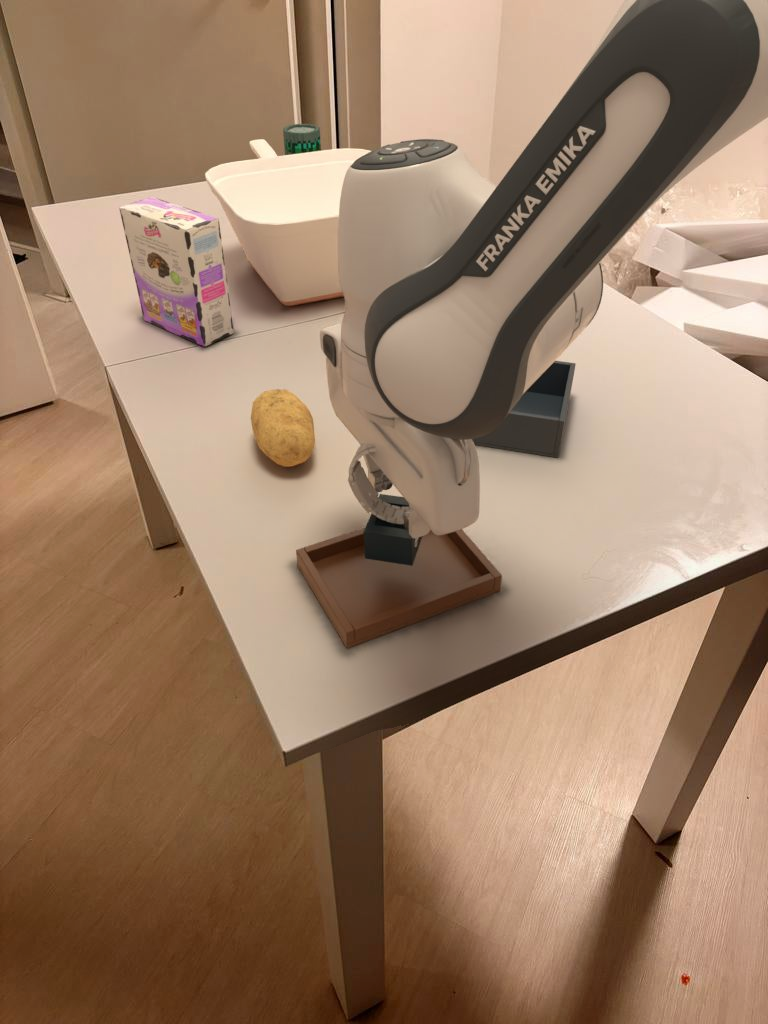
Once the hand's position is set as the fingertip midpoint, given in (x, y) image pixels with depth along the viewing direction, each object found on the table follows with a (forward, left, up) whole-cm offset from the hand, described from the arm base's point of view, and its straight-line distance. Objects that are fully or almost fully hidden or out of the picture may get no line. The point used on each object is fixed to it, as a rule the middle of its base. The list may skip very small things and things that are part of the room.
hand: (397, 508), depth 70 cm
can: (+41, -88, -9) cm, 97 cm away
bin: (-6, -30, -9) cm, 32 cm away
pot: (+34, -68, -9) cm, 77 cm away
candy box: (+42, -41, -9) cm, 59 cm away
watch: (0, 0, -4) cm, 4 cm away
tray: (0, 0, -9) cm, 9 cm away
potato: (+17, -16, -9) cm, 25 cm away
